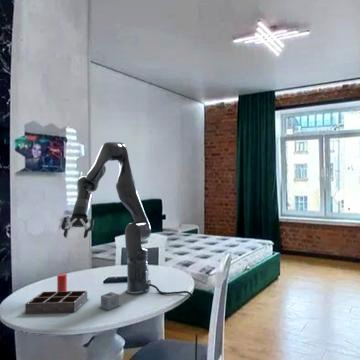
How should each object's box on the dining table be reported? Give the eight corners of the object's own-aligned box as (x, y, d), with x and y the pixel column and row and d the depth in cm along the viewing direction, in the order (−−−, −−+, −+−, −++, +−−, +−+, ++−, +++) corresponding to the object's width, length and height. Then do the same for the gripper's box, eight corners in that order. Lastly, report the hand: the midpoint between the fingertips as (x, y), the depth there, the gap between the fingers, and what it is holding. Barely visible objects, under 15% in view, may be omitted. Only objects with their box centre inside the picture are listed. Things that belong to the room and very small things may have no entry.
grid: (87, 299, 138) (87, 290, 138) (74, 312, 125) (74, 302, 125) (43, 300, 136) (43, 291, 136) (25, 313, 124) (25, 303, 124)
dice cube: (111, 303, 134) (111, 291, 134) (118, 305, 131) (118, 294, 131) (100, 307, 130) (100, 295, 130) (108, 310, 127) (108, 298, 127)
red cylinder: (68, 292, 146) (68, 273, 146) (64, 295, 143) (64, 275, 142) (59, 292, 146) (59, 273, 146) (55, 295, 142) (55, 276, 142)
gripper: (65, 204, 157) (57, 233, 147) (95, 206, 160) (90, 234, 151) (67, 212, 162) (60, 240, 153) (97, 213, 166) (91, 241, 156)
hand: (75, 237), depth 152 cm, fingers open, 8 cm apart
